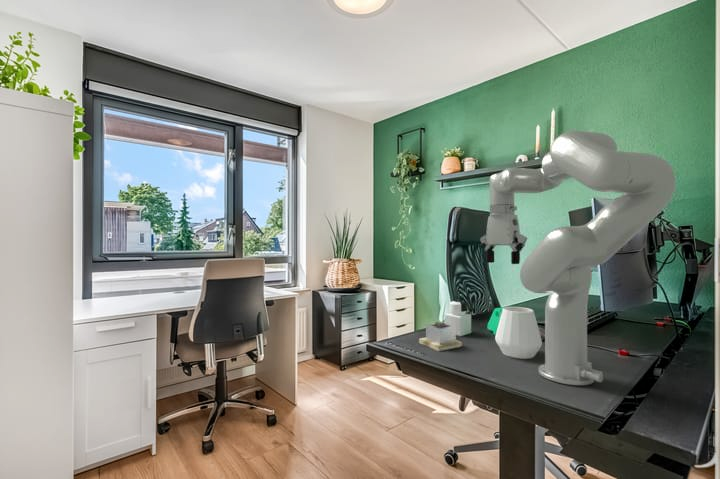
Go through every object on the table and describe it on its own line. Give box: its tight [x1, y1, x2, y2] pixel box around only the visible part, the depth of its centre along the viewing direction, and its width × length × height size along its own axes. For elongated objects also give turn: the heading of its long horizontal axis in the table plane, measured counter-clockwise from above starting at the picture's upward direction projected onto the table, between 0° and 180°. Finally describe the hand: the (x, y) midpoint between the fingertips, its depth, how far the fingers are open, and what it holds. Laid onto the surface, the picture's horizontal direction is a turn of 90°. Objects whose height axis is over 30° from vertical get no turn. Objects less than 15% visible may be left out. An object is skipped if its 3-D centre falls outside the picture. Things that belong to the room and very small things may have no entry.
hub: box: [425, 322, 457, 345], centre depth 120 cm, size 7×7×5 cm
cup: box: [494, 306, 543, 360], centre depth 111 cm, size 13×13×14 cm
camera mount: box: [487, 307, 504, 336], centre depth 132 cm, size 12×8×10 cm, turn 14°
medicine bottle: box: [444, 300, 472, 337], centre depth 135 cm, size 7×7×12 cm
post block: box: [418, 321, 463, 352], centre depth 120 cm, size 10×10×8 cm
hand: (502, 263), depth 116 cm, fingers open, 9 cm apart
